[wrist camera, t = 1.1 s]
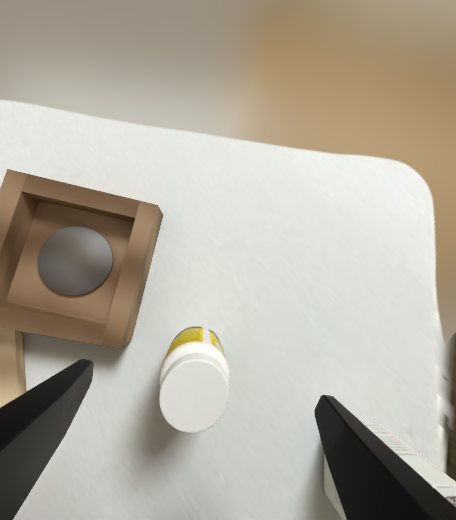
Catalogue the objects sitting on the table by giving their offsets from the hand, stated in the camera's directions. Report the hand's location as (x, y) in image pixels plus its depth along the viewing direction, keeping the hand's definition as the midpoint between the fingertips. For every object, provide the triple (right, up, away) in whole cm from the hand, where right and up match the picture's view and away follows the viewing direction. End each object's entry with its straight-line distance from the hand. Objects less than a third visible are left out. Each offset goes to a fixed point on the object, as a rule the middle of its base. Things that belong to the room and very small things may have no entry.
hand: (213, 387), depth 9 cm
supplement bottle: (-2, -4, +12) cm, 13 cm away
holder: (-13, +5, +12) cm, 18 cm away
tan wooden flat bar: (-18, -4, +10) cm, 21 cm away
